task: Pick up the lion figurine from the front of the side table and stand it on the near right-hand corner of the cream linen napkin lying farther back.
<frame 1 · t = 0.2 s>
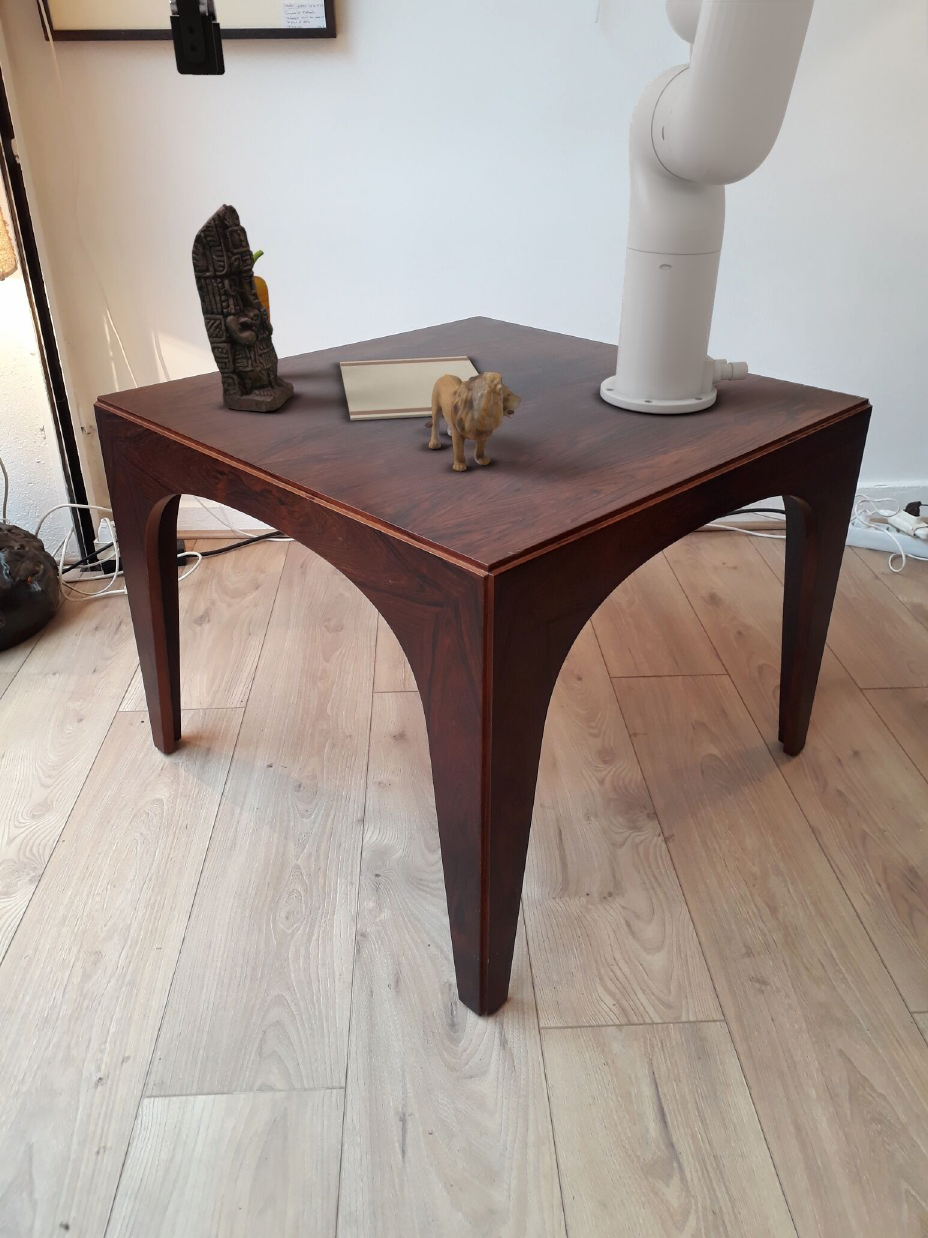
hand: (203, 74, 78), 31 cm above the table, tool pointing down, fingers open, 9 cm apart
statue: (255, 404, 100), on the table
napkin: (414, 386, 105), on the table
lion figurine: (465, 457, 86), on the table
carrot: (257, 378, 108), on the table
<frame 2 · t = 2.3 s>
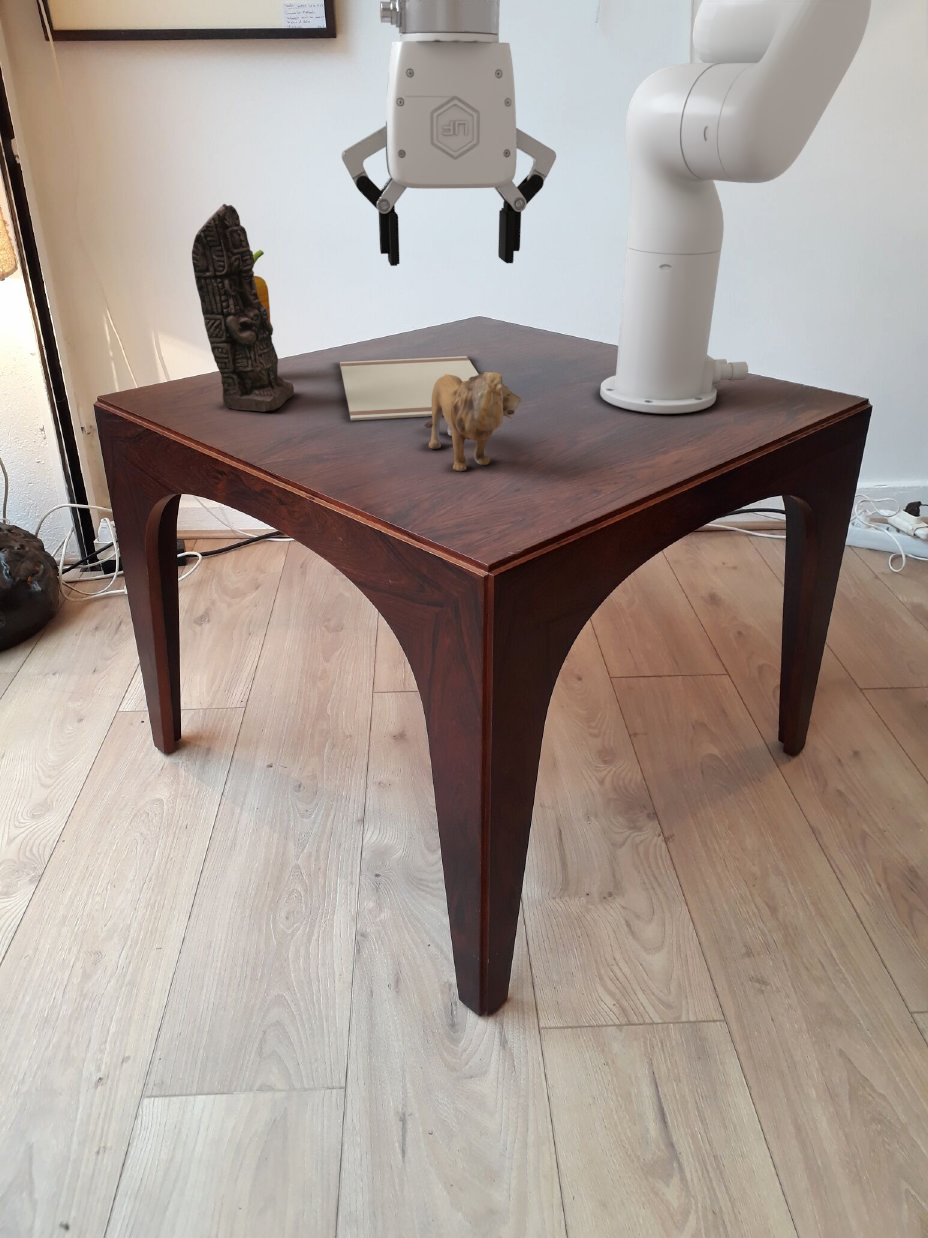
hand: (450, 261, 77), 17 cm above the table, tool pointing down, fingers open, 9 cm apart
nothing on the table moved.
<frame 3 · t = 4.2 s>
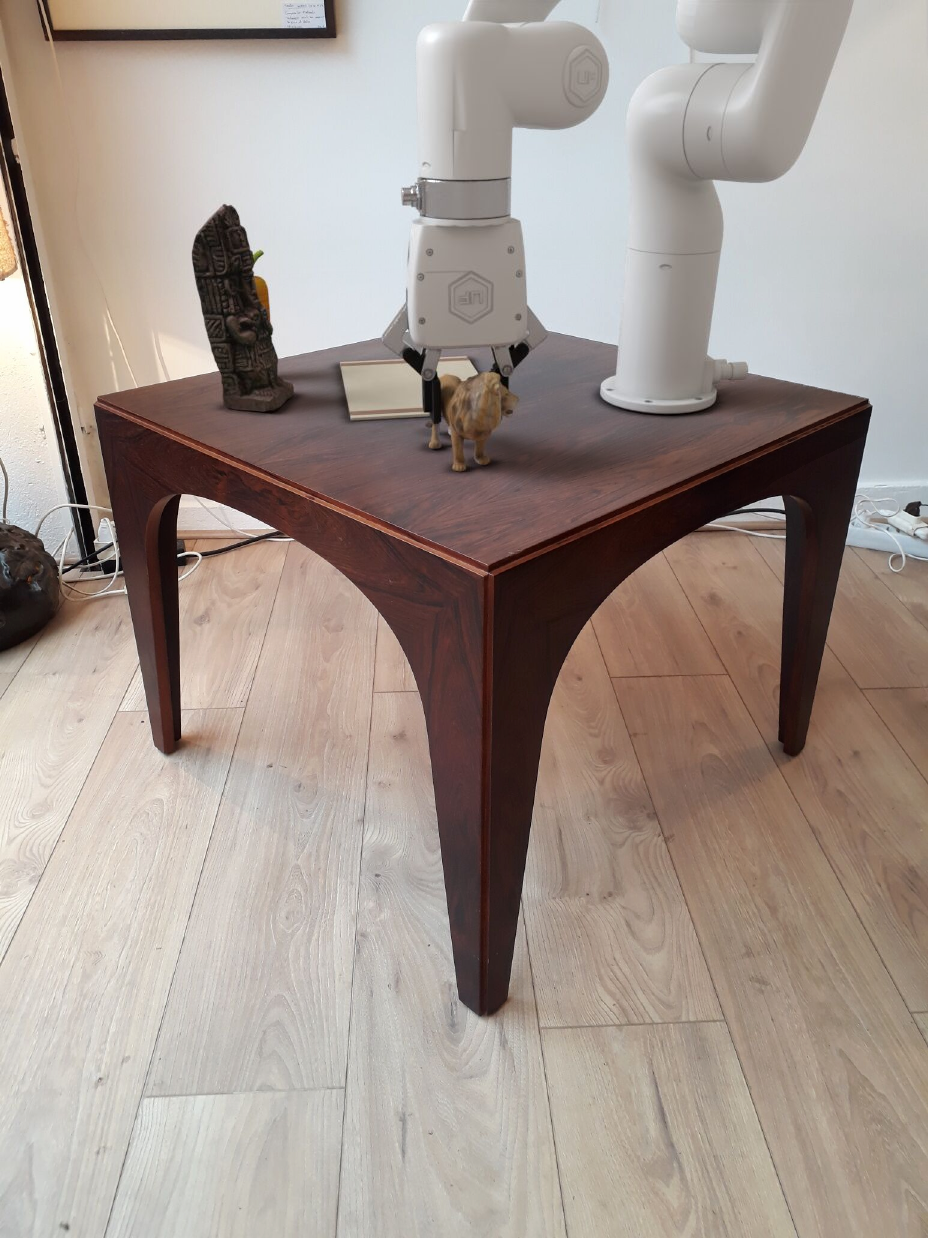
hand: (465, 415, 84), 4 cm above the table, tool pointing down, fingers closed on lion figurine, 5 cm apart
lion figurine: (465, 457, 86), on the table, touching gripper
everything else where it was.
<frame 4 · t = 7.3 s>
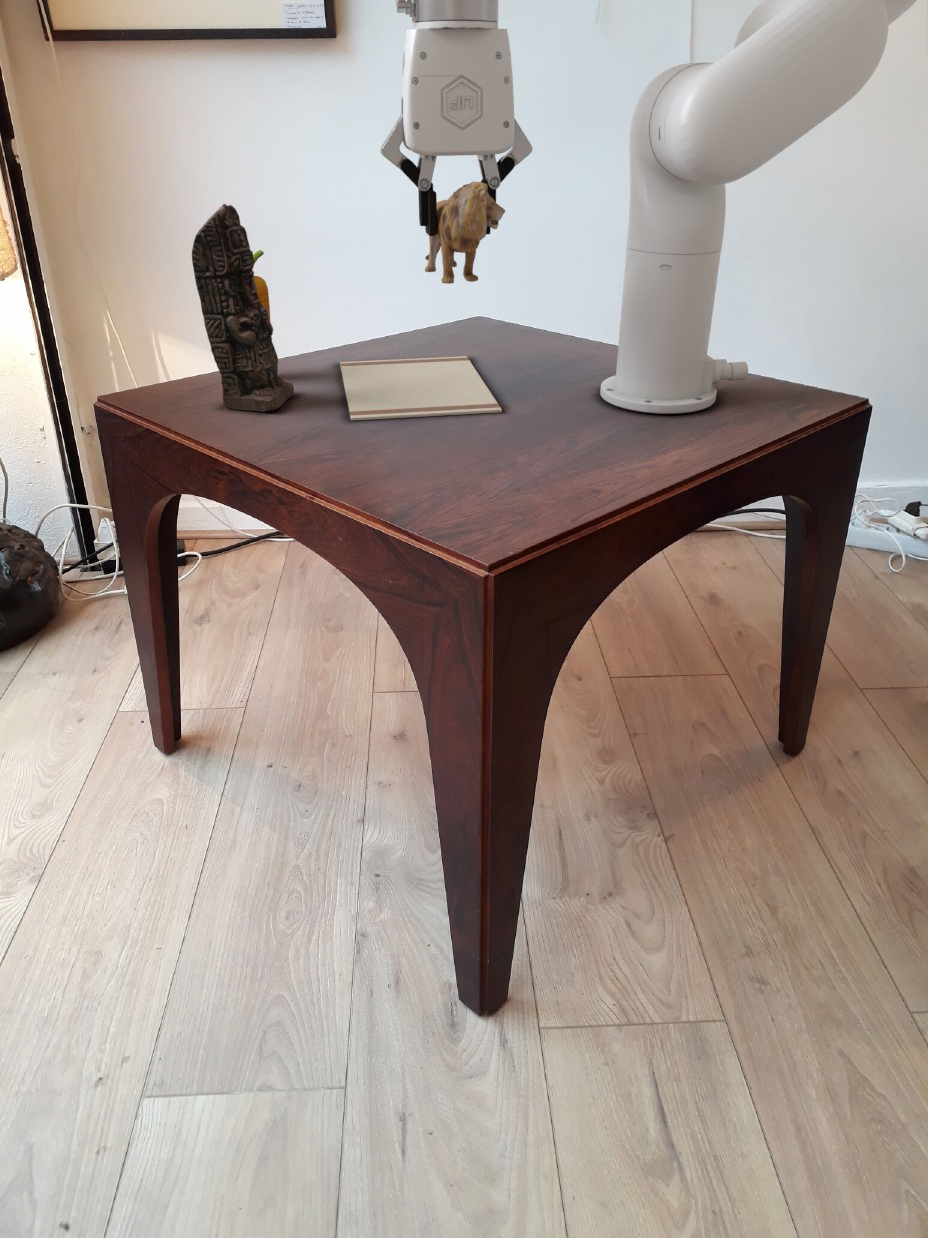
hand: (457, 231, 89), 18 cm above the table, tool pointing down, fingers closed on lion figurine, 4 cm apart
lion figurine: (457, 278, 91), point 13 cm above the table, touching gripper
everything else where it was.
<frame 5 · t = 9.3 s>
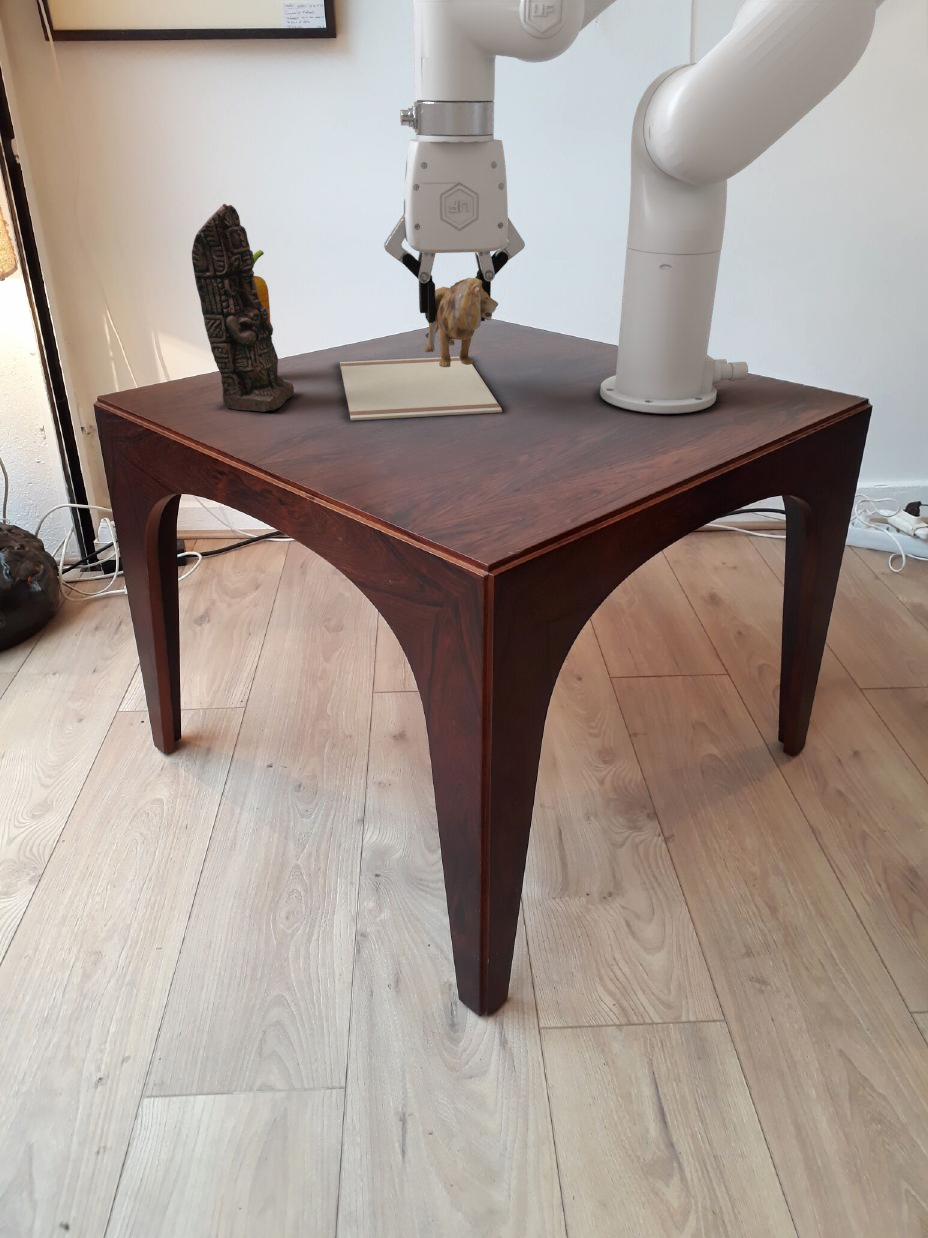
hand: (454, 317, 96), 9 cm above the table, tool pointing down, fingers closed on lion figurine, 4 cm apart
lion figurine: (453, 359, 98), point 4 cm above the table, touching gripper
everything else where it was.
when the fingers open (5 cm above the table, at t = 10.7 s): lion figurine stays where it is, resting on napkin.
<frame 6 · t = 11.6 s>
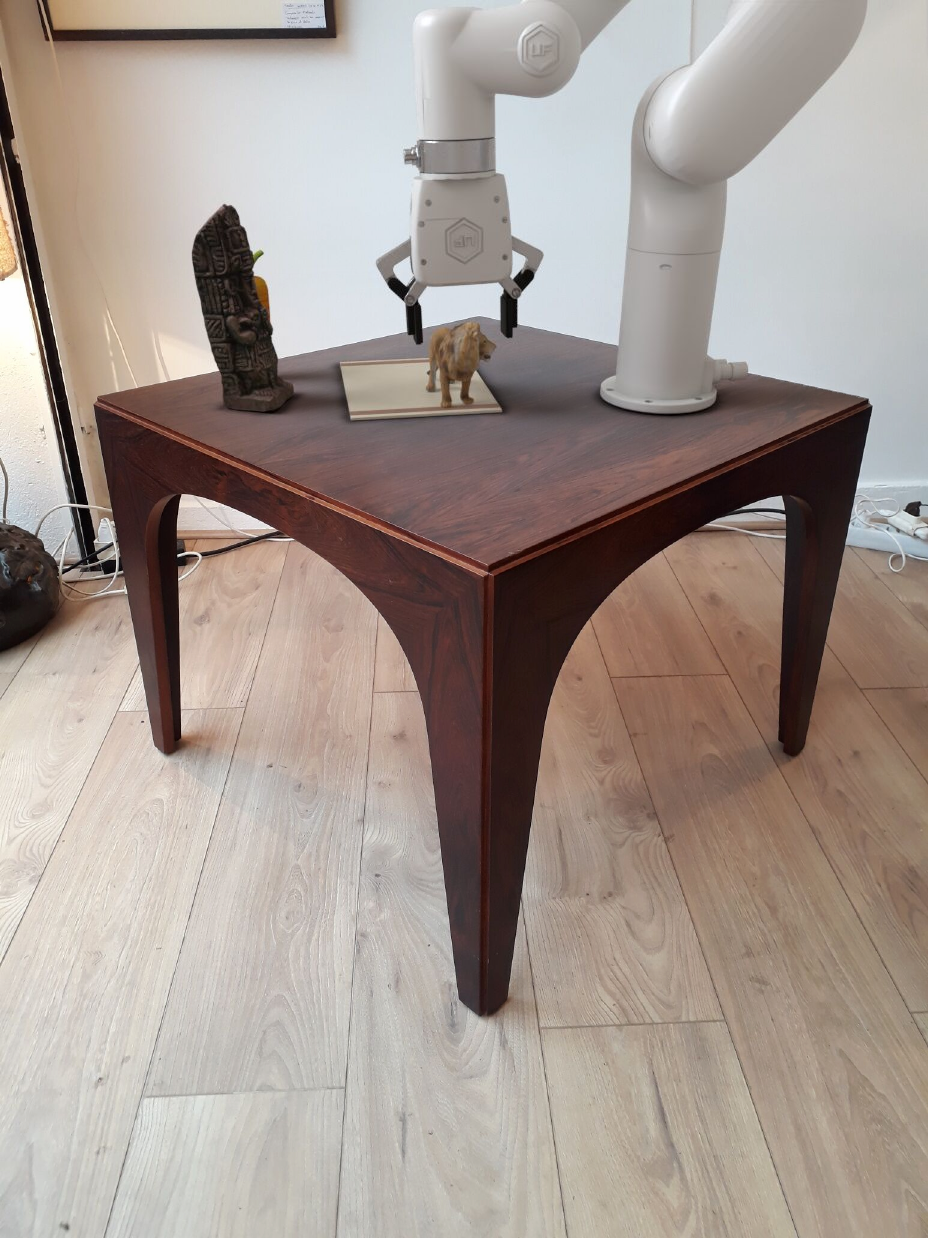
hand: (462, 338, 97), 7 cm above the table, tool pointing down, fingers open, 9 cm apart
lion figurine: (454, 398, 100), resting on napkin
everything else where it was.
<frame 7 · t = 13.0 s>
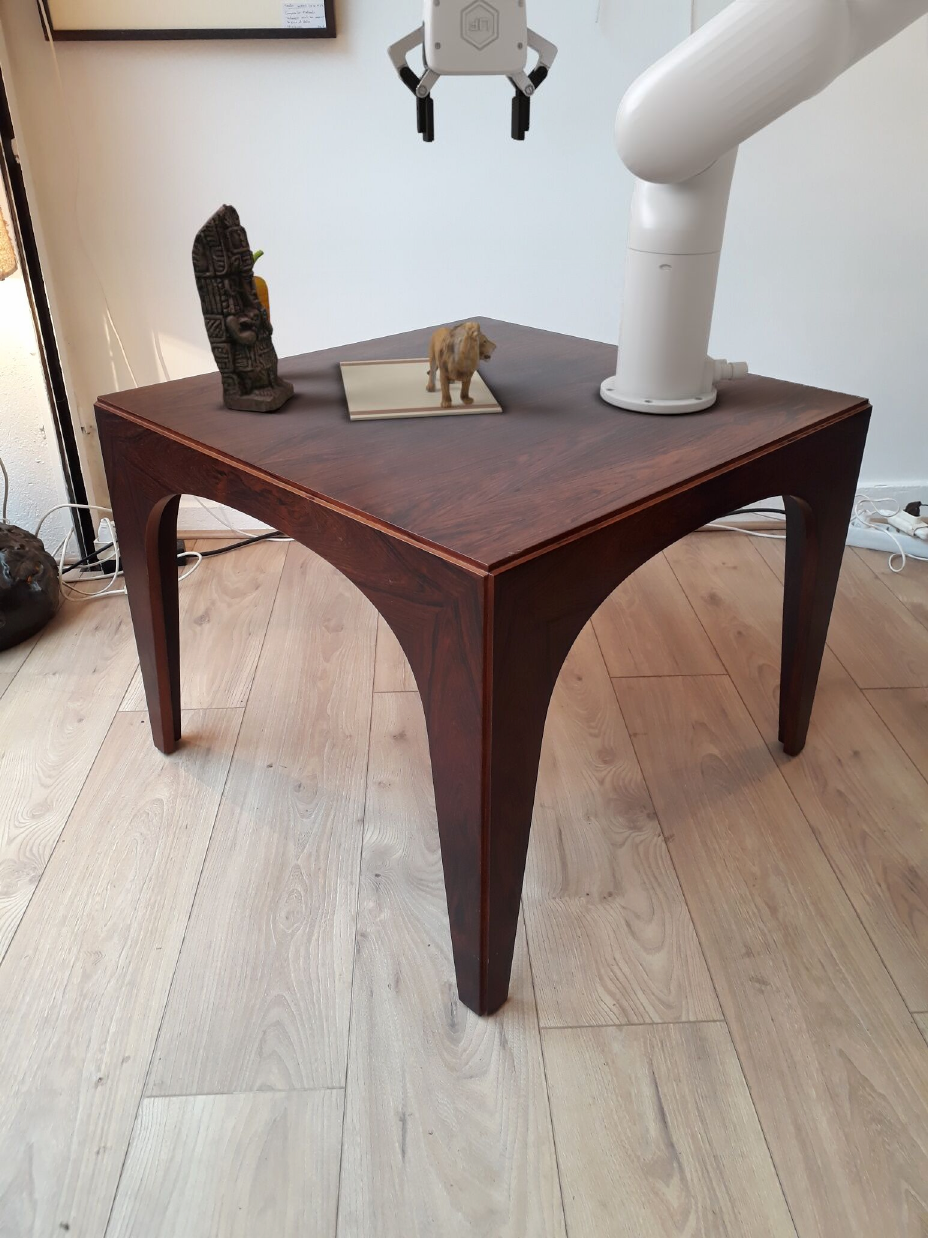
hand: (473, 140, 95), 25 cm above the table, tool pointing down, fingers open, 9 cm apart
nothing on the table moved.
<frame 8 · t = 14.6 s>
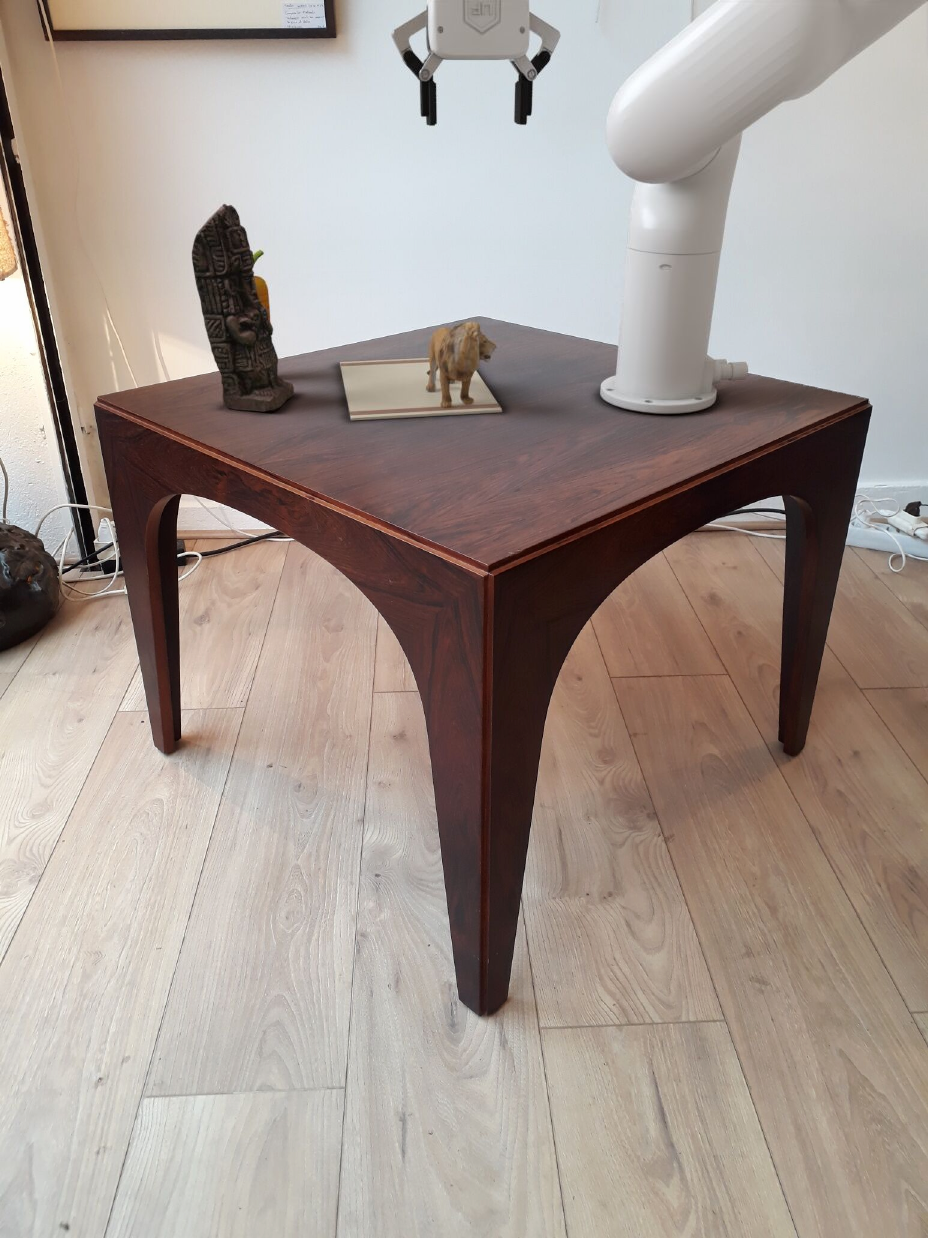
hand: (476, 124, 97), 26 cm above the table, tool pointing down, fingers open, 9 cm apart
nothing on the table moved.
at the end: lion figurine inside the target area on the napkin (0.4 cm from its centre), point 0.1 cm above the napkin's base; lion figurine tilted 0°; the gripper is holding nothing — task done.
